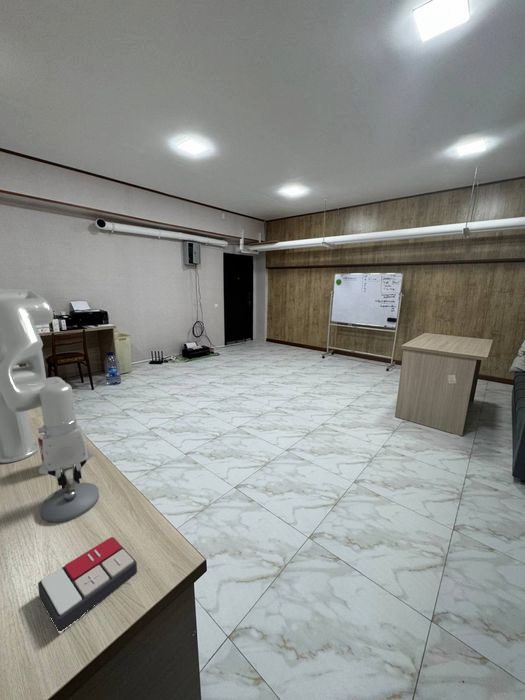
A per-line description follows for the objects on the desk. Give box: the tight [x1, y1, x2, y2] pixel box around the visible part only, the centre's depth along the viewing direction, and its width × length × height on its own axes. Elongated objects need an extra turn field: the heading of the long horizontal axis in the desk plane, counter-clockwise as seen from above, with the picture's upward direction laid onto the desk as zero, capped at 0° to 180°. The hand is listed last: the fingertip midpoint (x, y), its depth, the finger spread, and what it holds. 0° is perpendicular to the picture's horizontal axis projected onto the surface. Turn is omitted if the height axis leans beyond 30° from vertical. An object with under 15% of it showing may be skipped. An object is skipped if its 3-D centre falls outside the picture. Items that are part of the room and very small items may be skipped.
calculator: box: [37, 536, 138, 631], centre depth 61 cm, size 11×4×15 cm
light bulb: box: [61, 464, 77, 501], centre depth 85 cm, size 8×3×7 cm, turn 30°
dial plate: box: [39, 482, 100, 524], centre depth 84 cm, size 14×14×2 cm
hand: (70, 483), depth 87 cm, fingers closed on light bulb, 3 cm apart
